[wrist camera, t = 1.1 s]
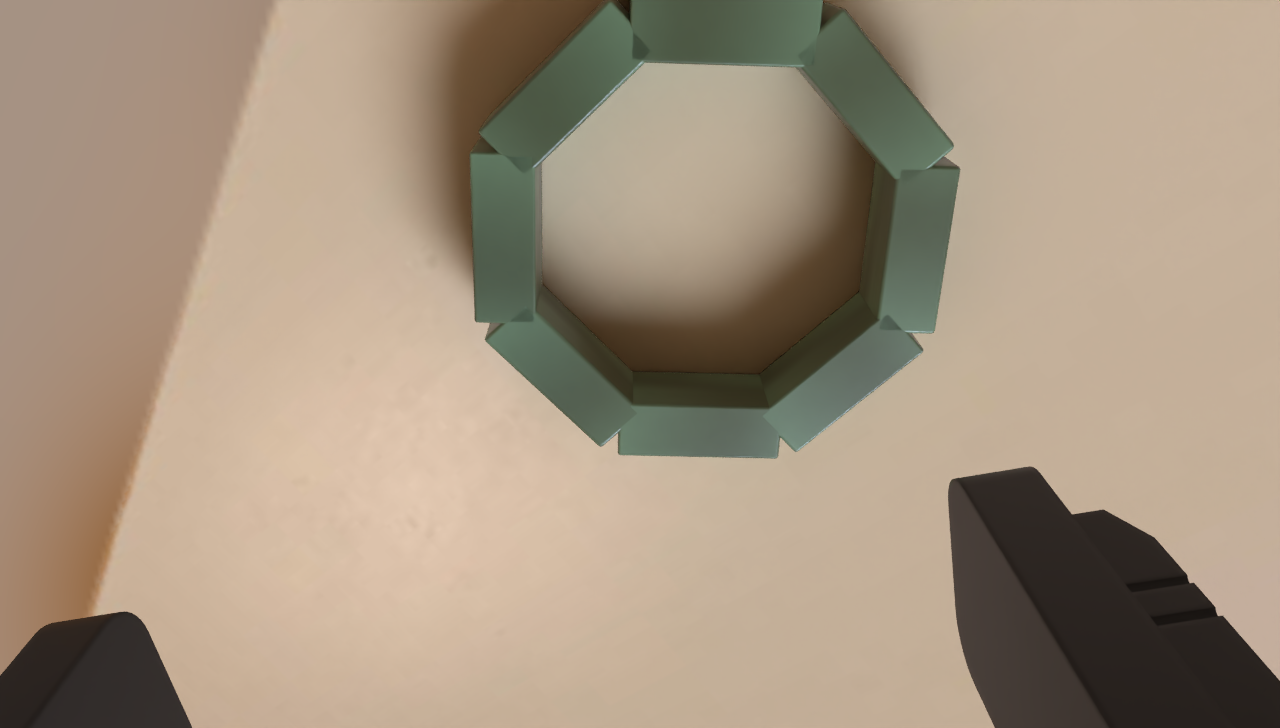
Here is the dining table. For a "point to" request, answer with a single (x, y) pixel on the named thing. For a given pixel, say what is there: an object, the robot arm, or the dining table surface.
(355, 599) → the dining table surface
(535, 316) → the ring
